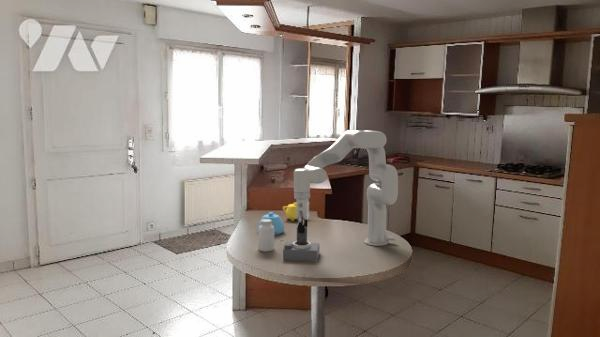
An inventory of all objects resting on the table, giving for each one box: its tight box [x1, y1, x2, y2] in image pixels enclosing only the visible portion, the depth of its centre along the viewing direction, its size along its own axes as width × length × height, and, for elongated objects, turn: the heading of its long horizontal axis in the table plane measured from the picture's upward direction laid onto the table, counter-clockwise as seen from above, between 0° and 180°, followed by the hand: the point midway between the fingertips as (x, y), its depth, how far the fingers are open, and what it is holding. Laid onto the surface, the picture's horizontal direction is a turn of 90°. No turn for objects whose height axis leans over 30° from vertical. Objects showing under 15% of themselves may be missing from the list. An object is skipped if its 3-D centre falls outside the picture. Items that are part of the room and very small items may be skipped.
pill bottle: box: [257, 219, 275, 252], centre depth 232 cm, size 8×8×15 cm
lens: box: [296, 226, 308, 245], centre depth 222 cm, size 5×5×9 cm
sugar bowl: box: [257, 211, 285, 236], centre depth 263 cm, size 15×15×12 cm
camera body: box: [282, 240, 321, 262], centre depth 222 cm, size 16×12×7 cm
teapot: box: [282, 202, 311, 222], centre depth 294 cm, size 18×11×11 cm, turn 105°
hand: (302, 230), depth 221 cm, fingers open, 9 cm apart
